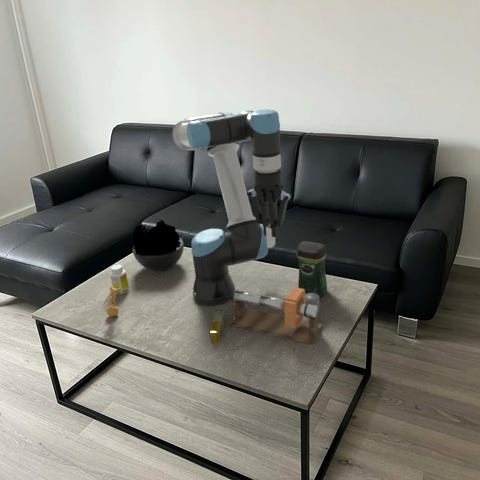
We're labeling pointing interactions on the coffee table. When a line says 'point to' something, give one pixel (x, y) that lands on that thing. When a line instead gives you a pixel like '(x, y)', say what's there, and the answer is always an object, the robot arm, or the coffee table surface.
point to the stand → (275, 324)
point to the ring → (293, 307)
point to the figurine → (113, 309)
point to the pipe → (274, 303)
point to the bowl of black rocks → (158, 247)
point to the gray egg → (312, 299)
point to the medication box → (217, 326)
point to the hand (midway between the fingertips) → (271, 245)
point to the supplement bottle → (119, 279)
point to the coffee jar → (312, 267)
